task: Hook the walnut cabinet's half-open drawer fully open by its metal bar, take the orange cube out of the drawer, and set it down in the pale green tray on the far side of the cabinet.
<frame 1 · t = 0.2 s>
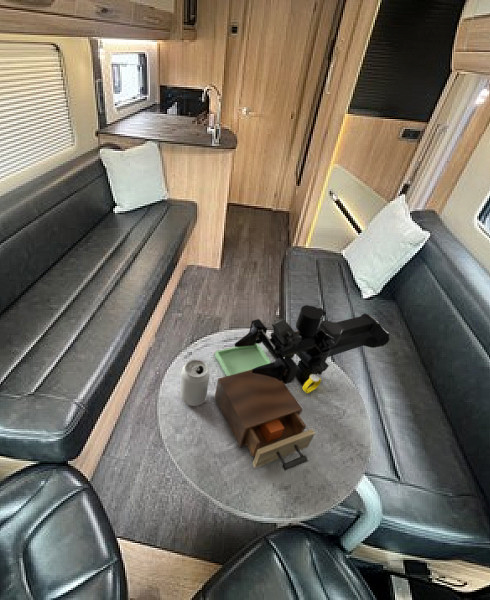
hand: (243, 357, 81), 17 cm above the table, tool horizontal, fingers open, 9 cm apart
tray: (243, 362, 103), on the table
cabinet: (253, 411, 88), on the table
can: (192, 396, 91), on the table
cube: (269, 432, 82), point 2 cm above the table, touching drawer
watch: (309, 390, 97), on the table
drawer: (273, 431, 80), point 4 cm above the table, slide at 5.0 cm, touching cube
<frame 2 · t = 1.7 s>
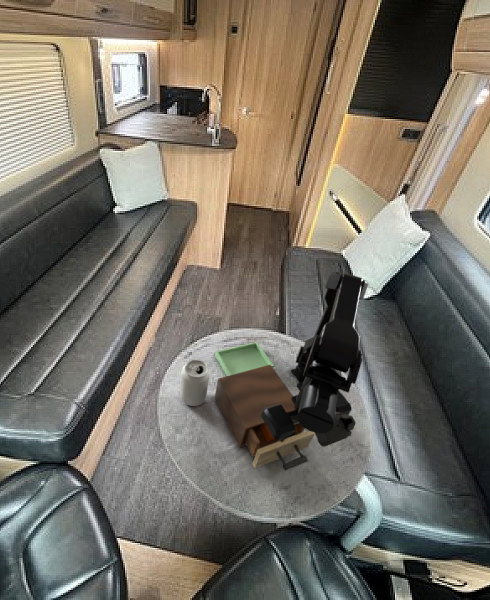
hand: (296, 434, 70), 12 cm above the table, tool pointing down, fingers open, 8 cm apart
nothing on the table moved.
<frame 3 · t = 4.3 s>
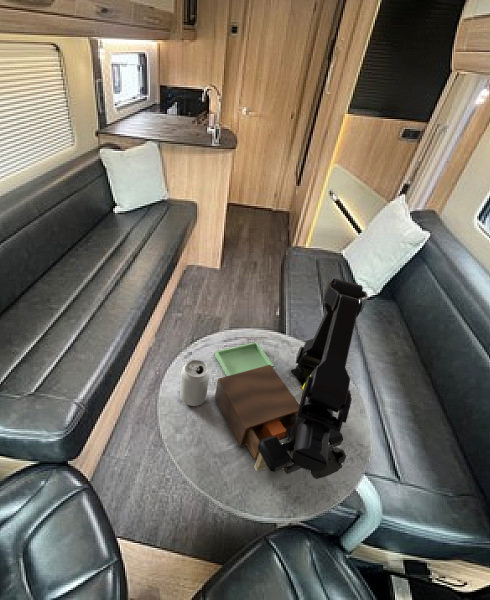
hand: (291, 462, 74), 4 cm above the table, tool pointing down, fingers closed, pressing on drawer
drawer: (275, 434, 79), point 4 cm above the table, slide at 5.8 cm, touching cube, gripper
everything else where it was.
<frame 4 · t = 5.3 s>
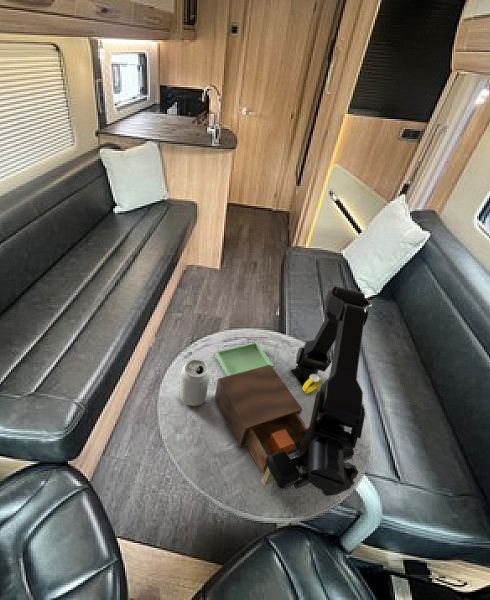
hand: (299, 476, 72), 4 cm above the table, tool pointing down, fingers closed, pressing on drawer
cube: (278, 447, 79), point 2 cm above the table, touching drawer
drawer: (283, 446, 77), point 4 cm above the table, slide at 9.2 cm, touching cube, gripper
everything else where it was.
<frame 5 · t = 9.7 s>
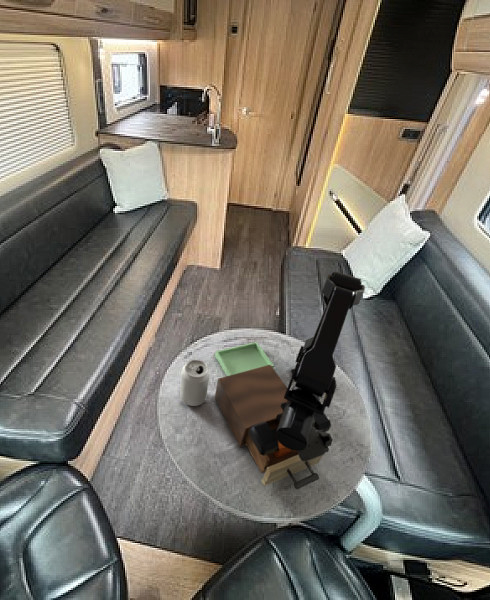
hand: (281, 448, 77), 3 cm above the table, tool pointing down, fingers open, 8 cm apart
drawer: (283, 447, 77), point 4 cm above the table, slide at 9.2 cm, touching cube
everything else where it was.
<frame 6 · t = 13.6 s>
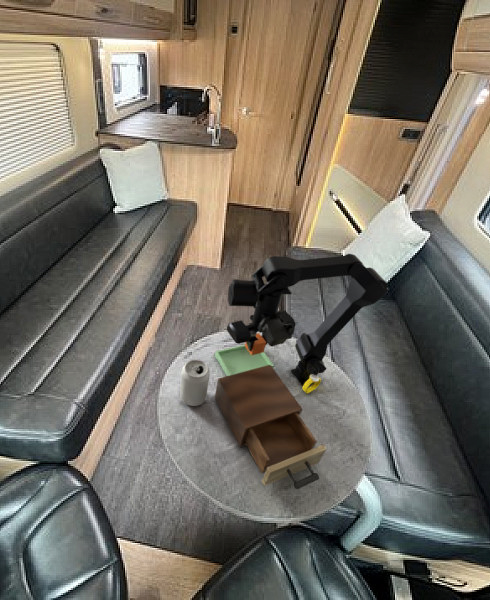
hand: (256, 348, 91), 12 cm above the table, tool pointing down, fingers closed on cube, 4 cm apart
cube: (254, 349, 93), point 11 cm above the table, touching gripper
drawer: (283, 447, 77), point 4 cm above the table, slide at 9.2 cm
everything else where it was.
when the fingers open (1 cm above the table, at t = 16.8 s): cube stays where it is, resting on tray.
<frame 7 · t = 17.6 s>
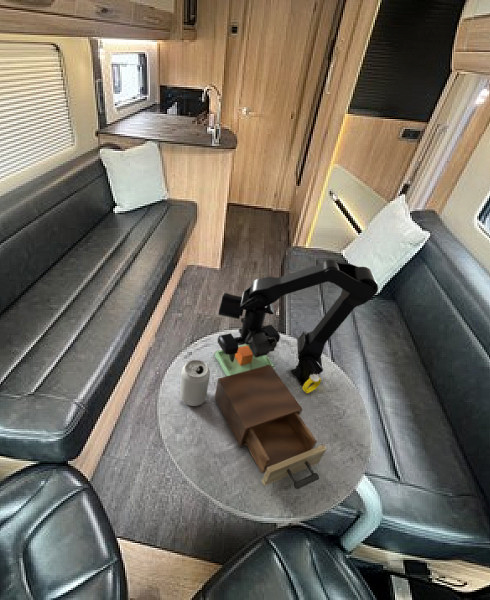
hand: (244, 358, 102), 2 cm above the table, tool pointing down, fingers open, 9 cm apart
cube: (242, 359, 103), resting on tray
everything else where it was.
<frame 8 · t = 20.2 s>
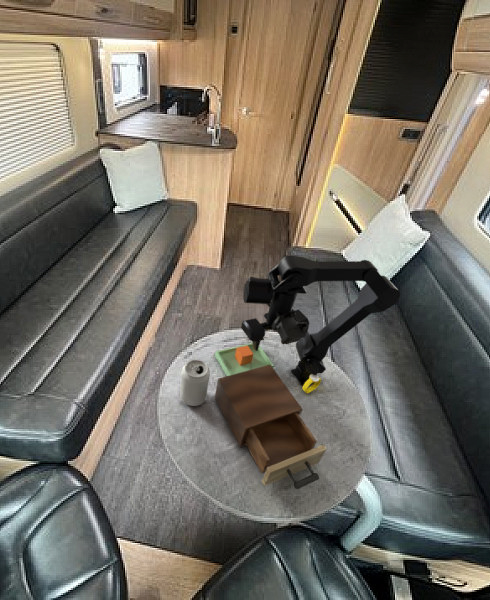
hand: (269, 346, 93), 12 cm above the table, tool pointing down, fingers open, 9 cm apart
nothing on the table moved.
at the end: drawer slide at 9.2 cm; cube inside the target area in the tray (0.7 cm from its centre), point 0.5 cm above the tray's base; the gripper is holding nothing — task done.
